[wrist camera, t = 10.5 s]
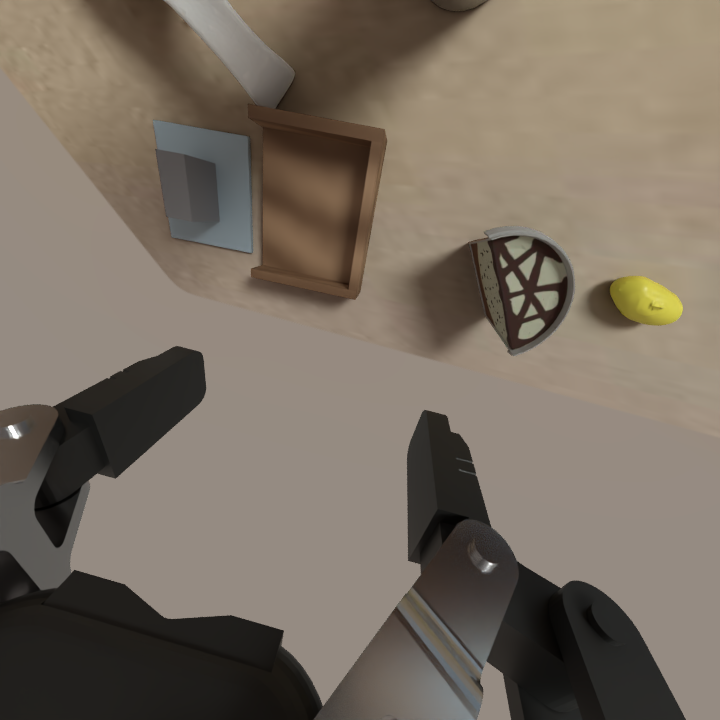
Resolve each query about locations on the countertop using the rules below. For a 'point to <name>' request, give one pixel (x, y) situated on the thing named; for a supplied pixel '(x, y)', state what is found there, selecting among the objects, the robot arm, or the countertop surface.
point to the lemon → (645, 301)
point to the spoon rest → (238, 49)
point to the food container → (522, 284)
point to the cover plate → (227, 182)
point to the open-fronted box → (317, 199)
